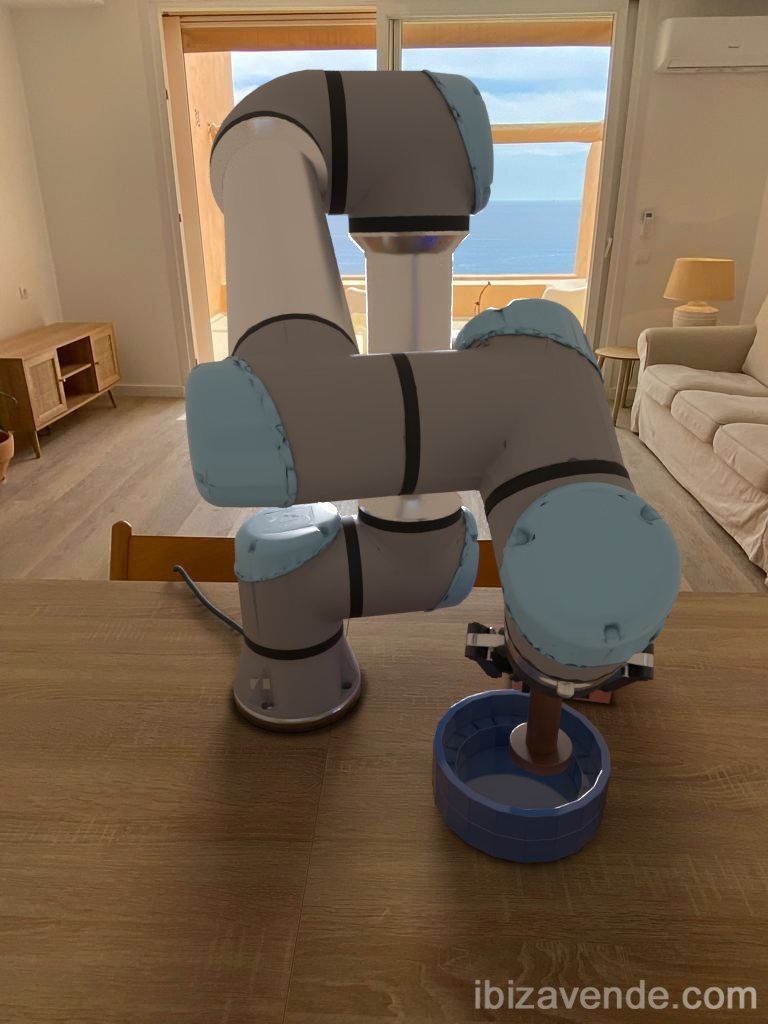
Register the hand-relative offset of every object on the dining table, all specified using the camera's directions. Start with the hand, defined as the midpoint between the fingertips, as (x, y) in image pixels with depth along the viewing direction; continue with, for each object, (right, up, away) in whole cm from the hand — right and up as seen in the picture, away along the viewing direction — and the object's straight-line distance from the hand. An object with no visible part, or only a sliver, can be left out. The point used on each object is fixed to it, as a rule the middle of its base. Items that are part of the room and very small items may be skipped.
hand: (545, 680), depth 65 cm
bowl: (-2, -13, +5) cm, 14 cm away
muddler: (-1, -6, -1) cm, 6 cm away
